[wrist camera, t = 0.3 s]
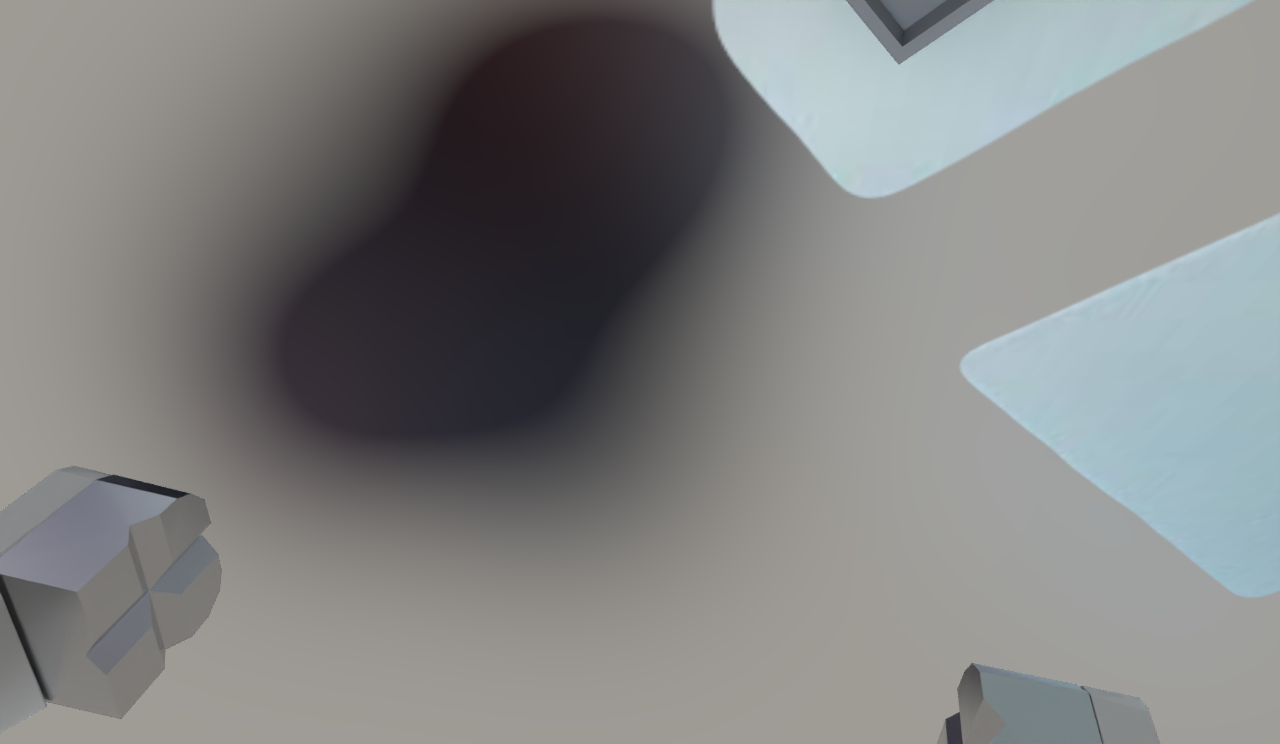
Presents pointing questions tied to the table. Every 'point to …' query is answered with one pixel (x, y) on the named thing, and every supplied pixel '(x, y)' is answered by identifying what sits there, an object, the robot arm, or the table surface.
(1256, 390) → the table surface
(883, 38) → the tray
